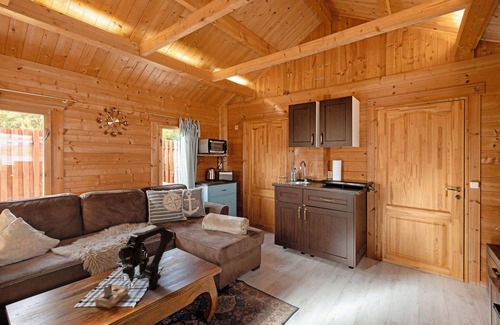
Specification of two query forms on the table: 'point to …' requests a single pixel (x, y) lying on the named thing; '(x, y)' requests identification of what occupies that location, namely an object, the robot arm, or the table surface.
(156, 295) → the table surface
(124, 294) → the bore block
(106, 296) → the peg
